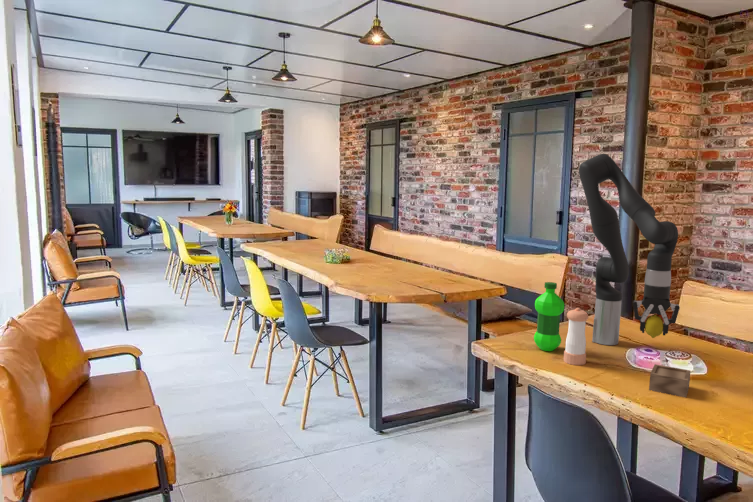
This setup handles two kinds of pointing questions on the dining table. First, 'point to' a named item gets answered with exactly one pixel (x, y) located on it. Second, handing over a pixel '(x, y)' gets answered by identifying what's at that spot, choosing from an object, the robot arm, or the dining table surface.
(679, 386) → the walnut box
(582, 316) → the salt shaker
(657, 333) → the lemon
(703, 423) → the dining table surface
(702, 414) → the dining table surface
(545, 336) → the plastic bottle
